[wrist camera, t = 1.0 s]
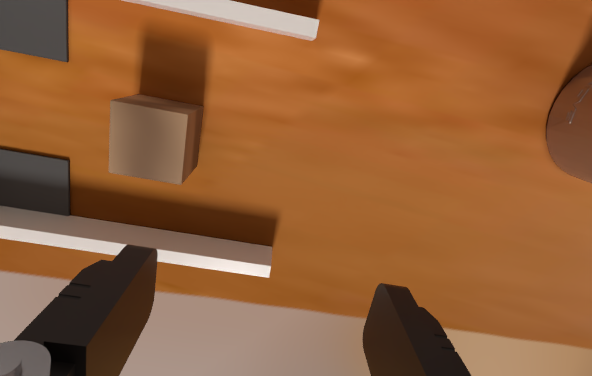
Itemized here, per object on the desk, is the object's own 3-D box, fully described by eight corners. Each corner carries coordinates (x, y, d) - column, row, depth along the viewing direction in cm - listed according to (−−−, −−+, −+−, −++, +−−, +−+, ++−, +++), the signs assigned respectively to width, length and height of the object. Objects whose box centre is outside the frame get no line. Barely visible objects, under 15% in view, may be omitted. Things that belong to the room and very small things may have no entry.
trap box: (315, 25, 24) (319, 19, 21) (270, 257, 30) (268, 277, 27) (-70, -59, 22) (-123, -77, 19) (-38, 210, 27) (-75, 226, 25)
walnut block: (203, 106, 26) (188, 114, 21) (197, 165, 27) (181, 184, 23) (139, 94, 25) (110, 100, 21) (136, 155, 27) (108, 172, 22)
